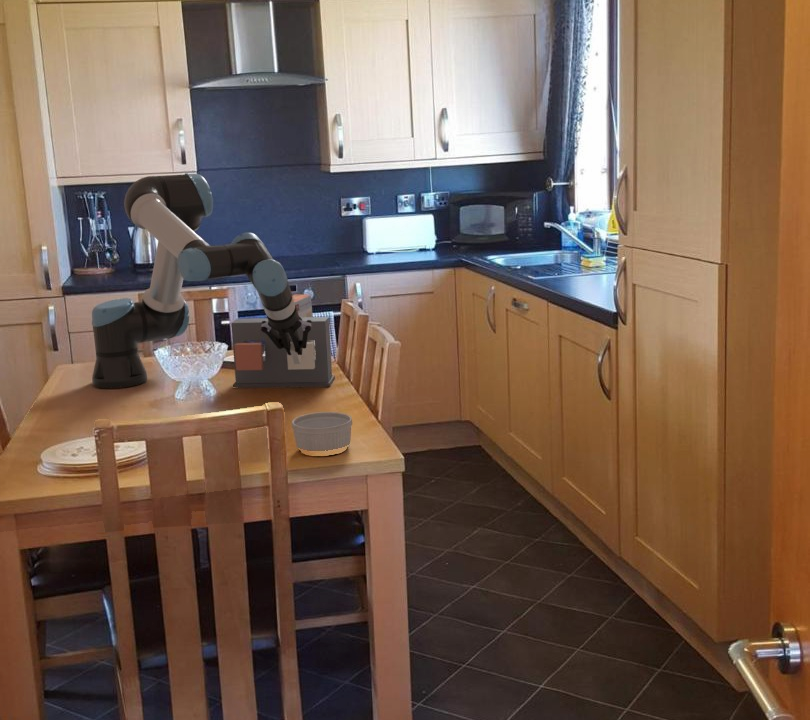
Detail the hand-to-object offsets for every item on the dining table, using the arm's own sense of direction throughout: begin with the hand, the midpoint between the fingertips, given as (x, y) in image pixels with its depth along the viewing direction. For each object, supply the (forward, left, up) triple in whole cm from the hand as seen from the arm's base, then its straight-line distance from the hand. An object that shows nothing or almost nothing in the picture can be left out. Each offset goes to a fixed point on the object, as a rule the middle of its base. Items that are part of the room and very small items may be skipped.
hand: (297, 359), depth 264 cm
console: (-15, -3, -10) cm, 18 cm away
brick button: (-12, -11, -3) cm, 16 cm away
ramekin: (+47, +2, -10) cm, 48 cm away
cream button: (-8, +2, -3) cm, 9 cm away
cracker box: (-33, +2, -10) cm, 34 cm away
